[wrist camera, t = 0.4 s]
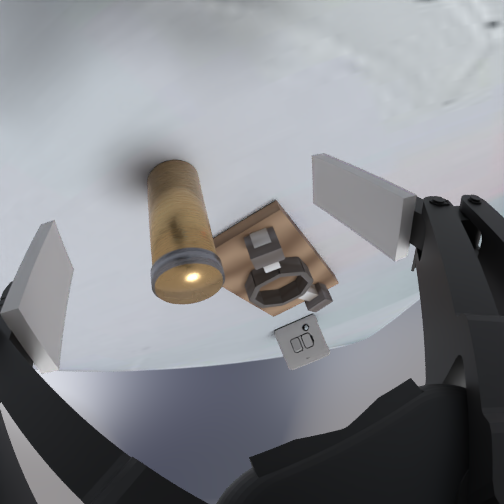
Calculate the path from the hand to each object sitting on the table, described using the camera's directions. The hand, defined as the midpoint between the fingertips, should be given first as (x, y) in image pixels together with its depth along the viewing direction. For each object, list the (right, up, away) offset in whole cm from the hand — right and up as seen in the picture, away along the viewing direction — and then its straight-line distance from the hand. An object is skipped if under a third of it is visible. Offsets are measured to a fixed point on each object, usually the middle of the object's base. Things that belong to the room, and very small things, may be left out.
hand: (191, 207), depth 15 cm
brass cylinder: (-5, +5, +15) cm, 16 cm away
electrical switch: (+13, -18, +53) cm, 57 cm away
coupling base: (+6, -4, +32) cm, 33 cm away
